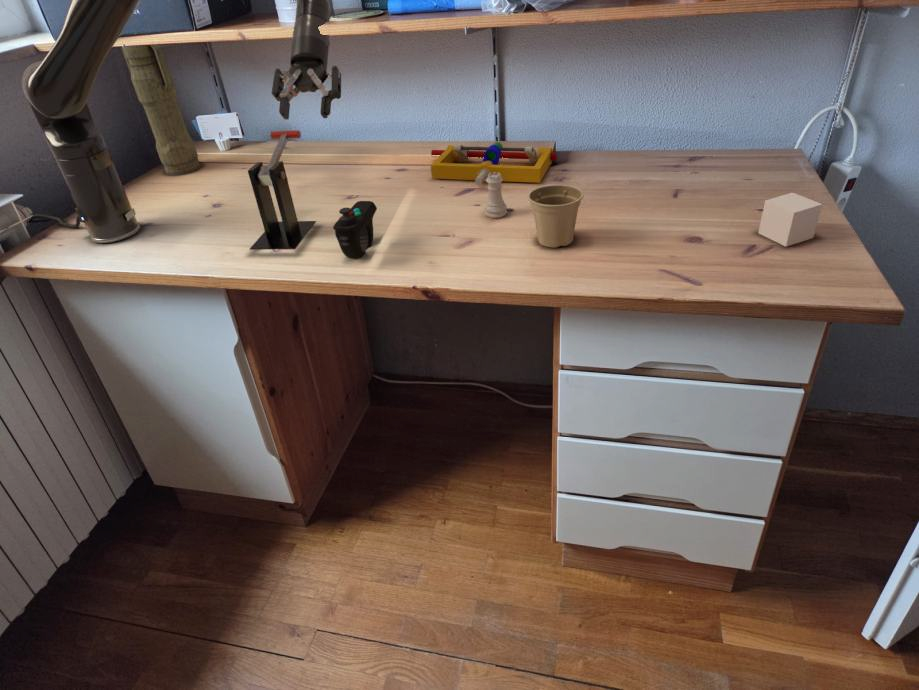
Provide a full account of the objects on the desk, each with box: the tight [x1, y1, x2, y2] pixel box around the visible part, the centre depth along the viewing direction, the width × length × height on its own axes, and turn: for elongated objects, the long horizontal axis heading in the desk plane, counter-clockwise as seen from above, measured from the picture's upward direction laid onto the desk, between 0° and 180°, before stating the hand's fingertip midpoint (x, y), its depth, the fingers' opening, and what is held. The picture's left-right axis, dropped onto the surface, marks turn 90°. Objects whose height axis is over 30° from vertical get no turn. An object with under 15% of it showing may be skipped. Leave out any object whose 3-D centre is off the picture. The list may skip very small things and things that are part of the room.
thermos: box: [120, 43, 201, 176], centre depth 152 cm, size 9×12×35 cm
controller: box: [332, 200, 378, 259], centre depth 111 cm, size 4×12×10 cm, turn 167°
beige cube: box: [757, 192, 823, 248], centre depth 104 cm, size 6×6×6 cm
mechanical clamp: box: [430, 141, 558, 186], centre depth 139 cm, size 18×6×30 cm
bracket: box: [247, 160, 317, 251], centre depth 117 cm, size 12×9×15 cm
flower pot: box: [527, 184, 585, 249], centre depth 109 cm, size 9×9×9 cm
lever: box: [258, 129, 302, 187], centre depth 117 cm, size 14×6×2 cm, turn 172°
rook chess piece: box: [484, 172, 508, 219], centre depth 121 cm, size 4×4×8 cm
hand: (304, 117), depth 129 cm, fingers open, 8 cm apart
